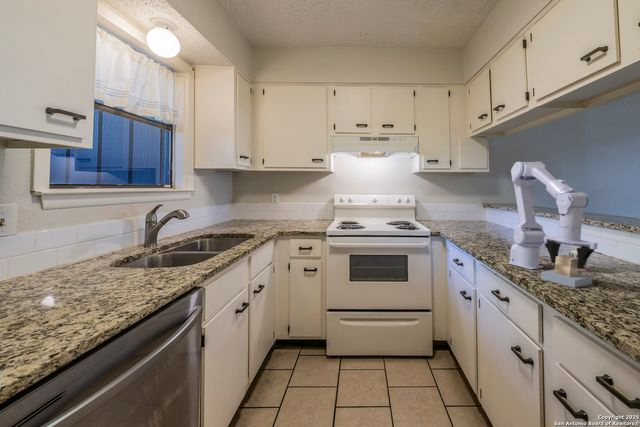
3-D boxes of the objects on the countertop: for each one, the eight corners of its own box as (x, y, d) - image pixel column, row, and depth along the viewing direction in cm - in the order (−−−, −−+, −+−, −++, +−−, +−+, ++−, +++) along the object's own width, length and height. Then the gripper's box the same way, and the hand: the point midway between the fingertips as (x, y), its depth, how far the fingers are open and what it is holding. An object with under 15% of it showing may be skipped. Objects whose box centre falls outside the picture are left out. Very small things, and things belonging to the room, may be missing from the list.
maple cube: (554, 272, 97) (556, 256, 97) (562, 271, 99) (564, 255, 98) (569, 276, 93) (571, 259, 93) (577, 275, 95) (579, 258, 94)
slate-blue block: (540, 279, 99) (541, 271, 99) (557, 276, 103) (558, 268, 102) (574, 289, 90) (575, 280, 89) (591, 285, 93) (592, 276, 93)
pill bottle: (587, 269, 109) (589, 245, 108) (583, 272, 106) (585, 247, 105) (570, 266, 114) (571, 243, 113) (565, 268, 111) (567, 245, 110)
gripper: (604, 229, 89) (600, 269, 90) (553, 223, 103) (550, 259, 104) (591, 230, 87) (588, 272, 88) (541, 224, 100) (538, 260, 101)
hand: (566, 265), depth 96 cm, fingers open, 7 cm apart
